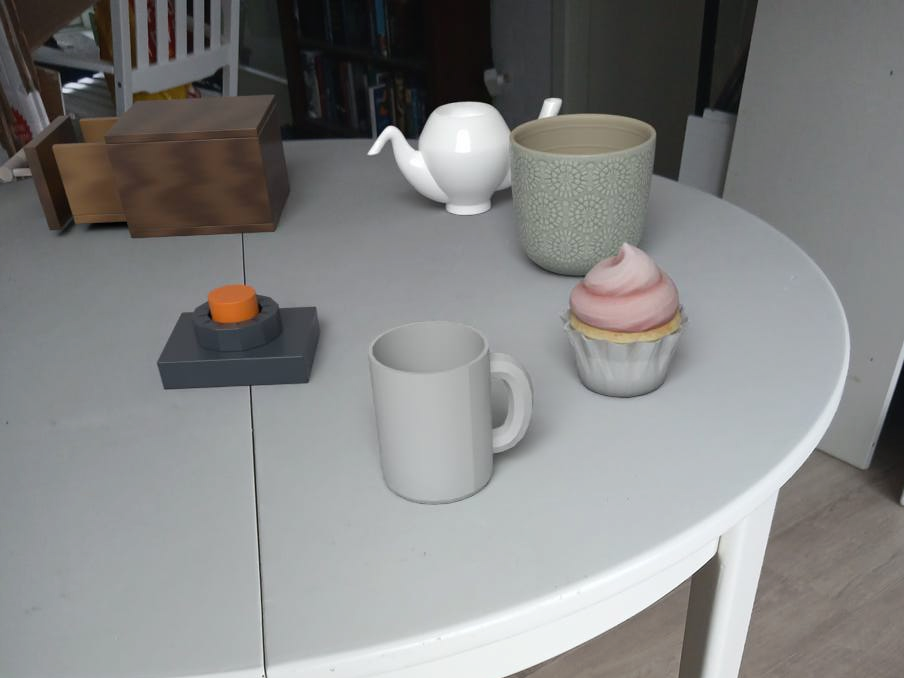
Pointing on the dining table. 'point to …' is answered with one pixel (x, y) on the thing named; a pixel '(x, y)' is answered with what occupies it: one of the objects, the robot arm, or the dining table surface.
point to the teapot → (459, 154)
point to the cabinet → (200, 166)
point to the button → (233, 303)
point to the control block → (240, 348)
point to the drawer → (70, 172)
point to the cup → (442, 408)
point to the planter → (580, 187)
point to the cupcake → (624, 324)
